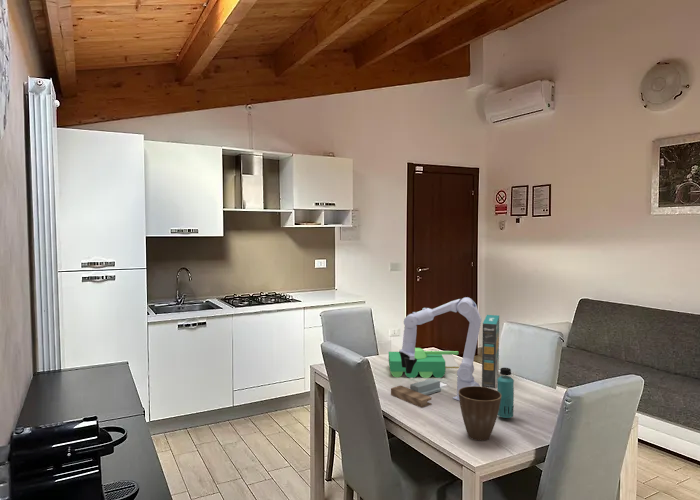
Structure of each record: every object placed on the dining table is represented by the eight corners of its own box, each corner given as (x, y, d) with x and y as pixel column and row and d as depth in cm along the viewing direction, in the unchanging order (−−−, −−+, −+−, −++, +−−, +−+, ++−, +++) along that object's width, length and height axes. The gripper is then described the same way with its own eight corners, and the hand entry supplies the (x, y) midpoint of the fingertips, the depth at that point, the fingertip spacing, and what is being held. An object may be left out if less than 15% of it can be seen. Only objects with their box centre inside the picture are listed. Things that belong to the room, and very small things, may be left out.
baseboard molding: (436, 369, 260) (459, 369, 260) (436, 363, 260) (459, 364, 259) (429, 353, 291) (450, 353, 291) (429, 348, 291) (450, 348, 290)
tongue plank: (431, 387, 231) (432, 378, 231) (442, 391, 226) (442, 381, 225) (410, 394, 222) (410, 384, 222) (420, 398, 217) (420, 388, 217)
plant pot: (480, 424, 189) (480, 383, 188) (509, 439, 176) (510, 395, 174) (449, 432, 182) (449, 390, 181) (478, 449, 168) (478, 403, 167)
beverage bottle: (502, 422, 190) (503, 371, 189) (493, 416, 197) (493, 366, 195) (517, 420, 192) (518, 370, 191) (507, 414, 198) (508, 365, 197)
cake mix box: (486, 373, 251) (486, 314, 250) (498, 374, 249) (499, 315, 247) (481, 386, 231) (482, 323, 229) (495, 388, 229) (496, 324, 227)
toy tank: (461, 354, 243) (390, 353, 244) (461, 378, 244) (390, 378, 245) (454, 344, 261) (388, 344, 262) (454, 367, 261) (388, 367, 263)
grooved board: (431, 404, 209) (431, 397, 209) (421, 407, 206) (421, 400, 206) (400, 391, 224) (400, 385, 224) (390, 394, 221) (390, 388, 221)
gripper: (396, 336, 229) (394, 364, 230) (404, 345, 214) (401, 375, 216) (411, 336, 230) (408, 365, 231) (420, 345, 215) (417, 376, 217)
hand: (406, 370), depth 223 cm, fingers open, 7 cm apart
